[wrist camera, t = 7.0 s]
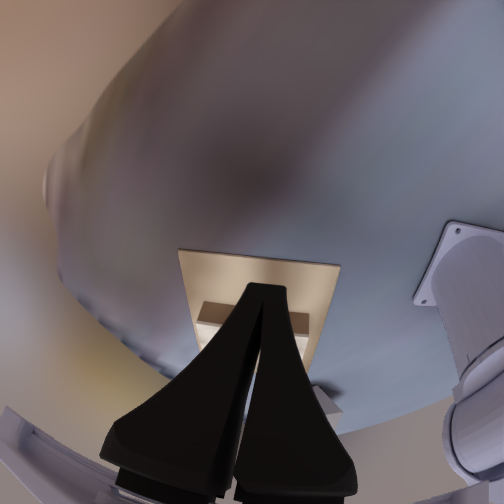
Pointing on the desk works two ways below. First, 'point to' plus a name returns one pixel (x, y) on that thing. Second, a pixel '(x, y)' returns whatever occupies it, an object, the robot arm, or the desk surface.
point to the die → (328, 407)
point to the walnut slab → (218, 313)
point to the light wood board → (260, 271)
